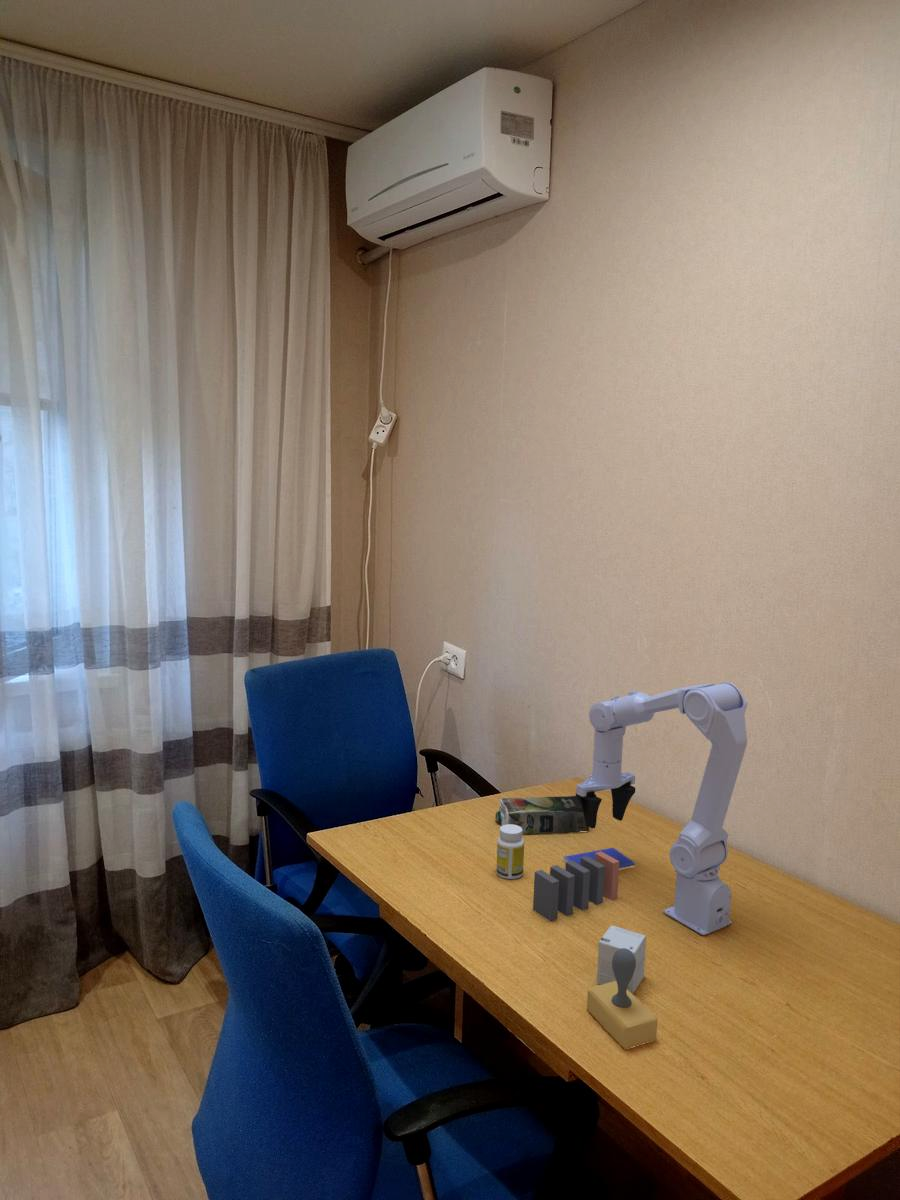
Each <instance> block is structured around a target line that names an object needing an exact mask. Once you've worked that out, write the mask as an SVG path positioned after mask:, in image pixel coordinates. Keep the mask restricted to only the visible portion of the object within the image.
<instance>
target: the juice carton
mask: <svg viewBox="0 0 900 1200" xmlns="http://www.w3.org/2000/svg"><path fill="white" fill-rule="evenodd" d="M495 820H496V821H497V822H498V823H499V824H500V825H501V826H503V825H507V824H513V825H518V826H520V827H521V828H522V836H527V835H528V836H529V835H550V834H549V833H559V834H567V833H566V832H580V831H588V832H589V829H590V827H588V826H586V823H585V818H584V813H583V810H582V807H581V804H580V802H579V800H578V798H577V796H576V795H570V796H566V795H565V796H540V797H539V796H538V797H535V796H533V797H532V796H531V797H506V798H500V799H499V809H498V811H496V812H495Z"/></svg>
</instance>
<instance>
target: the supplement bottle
mask: <svg viewBox="0 0 900 1200" xmlns="http://www.w3.org/2000/svg"><path fill="white" fill-rule="evenodd" d="M496 841H497V843H496V845H497V846H496V868H495V869H496V874H497V875H498V876H499V877H500V878H502V879H506V880H517V879H519V878H521V877H523V874H524V864H525V863H524V861H525V839H524V838H523V835H522V828H521V827H520V826H518V825H513V824H507V825H503V826H502V825H501V826H500V828H499V837H498V838H497V840H496Z"/></svg>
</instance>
